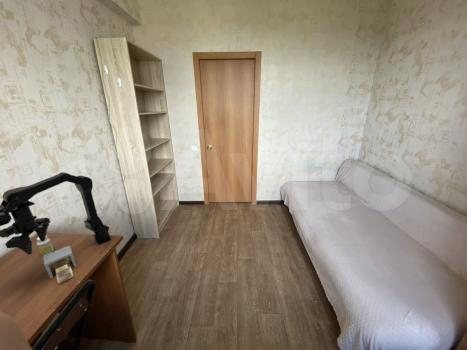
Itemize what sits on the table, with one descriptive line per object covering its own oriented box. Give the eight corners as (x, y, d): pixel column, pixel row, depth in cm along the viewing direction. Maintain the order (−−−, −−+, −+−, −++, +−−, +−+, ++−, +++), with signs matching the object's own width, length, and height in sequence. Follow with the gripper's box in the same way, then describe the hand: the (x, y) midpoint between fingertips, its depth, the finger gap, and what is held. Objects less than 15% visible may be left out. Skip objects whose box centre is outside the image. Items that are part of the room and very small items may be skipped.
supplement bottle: (51, 254, 107) (44, 239, 104) (38, 256, 106) (32, 241, 103) (56, 247, 112) (50, 233, 109) (44, 250, 111) (38, 235, 108)
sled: (67, 258, 103) (64, 248, 101) (74, 277, 92) (70, 266, 90) (53, 264, 100) (49, 254, 98) (58, 284, 88) (54, 273, 86)
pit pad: (72, 253, 107) (71, 252, 107) (72, 255, 106) (72, 255, 106) (47, 263, 101) (47, 263, 101) (47, 266, 99) (47, 265, 99)
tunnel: (74, 258, 104) (69, 245, 101) (77, 266, 98) (72, 252, 96) (48, 269, 97) (42, 256, 94) (50, 278, 92) (44, 264, 89)
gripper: (17, 210, 93) (29, 238, 99) (-20, 233, 76) (-2, 266, 82) (45, 206, 96) (56, 234, 101) (16, 228, 79) (31, 260, 84)
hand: (36, 247), depth 92 cm, fingers open, 9 cm apart
